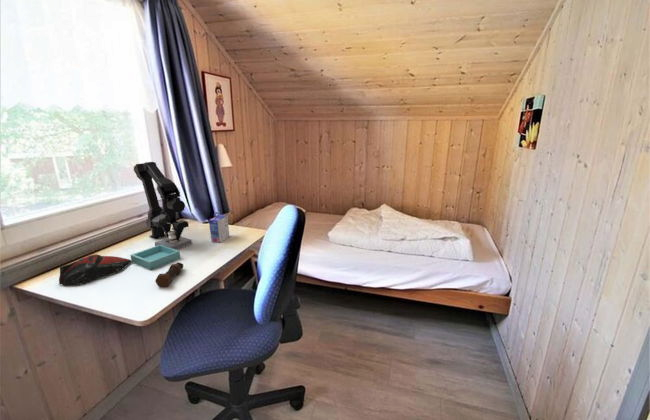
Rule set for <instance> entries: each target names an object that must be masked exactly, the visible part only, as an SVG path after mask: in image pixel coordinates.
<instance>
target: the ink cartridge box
mask: <svg viewBox="0 0 650 420" xmlns="http://www.w3.org/2000/svg"><path fill="white" fill-rule="evenodd" d="M213 216H214V217H212V218H210V219H208V223H209V225H208V226H209V232H210V233H209V234H210V239H211V243H217V244H220V243H222V242H223V241H225V240H226V239H228V238H229V237H230V228H229V227H230V226H229V219H228V217H229V216H228V215H227V214H219V212H218V211H217V212H214V213H213Z"/></svg>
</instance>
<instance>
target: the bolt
mask: <svg viewBox="0 0 650 420" xmlns="http://www.w3.org/2000/svg"><path fill="white" fill-rule="evenodd" d="M183 268H184V263H181V262H179V261H178V262H176V263H172V264H171V265H170V267H169V268H168V270H167V271H166V272H165V273H159V274H158V275H157V276H156V278H155V284H156V285H157V286H158V287H159V288H168V287H169V286H170V285H171V284H172V281H173V278H174V277H175V276H179V275H180V274H181V272H182V271H183Z"/></svg>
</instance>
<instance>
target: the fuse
mask: <svg viewBox="0 0 650 420" xmlns="http://www.w3.org/2000/svg"><path fill="white" fill-rule="evenodd" d="M168 235H169V237H168V238H169V243H171V244H173V243H176V242H177V239H176V236H175V231H174V230H170V231H169V232H168Z"/></svg>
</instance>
